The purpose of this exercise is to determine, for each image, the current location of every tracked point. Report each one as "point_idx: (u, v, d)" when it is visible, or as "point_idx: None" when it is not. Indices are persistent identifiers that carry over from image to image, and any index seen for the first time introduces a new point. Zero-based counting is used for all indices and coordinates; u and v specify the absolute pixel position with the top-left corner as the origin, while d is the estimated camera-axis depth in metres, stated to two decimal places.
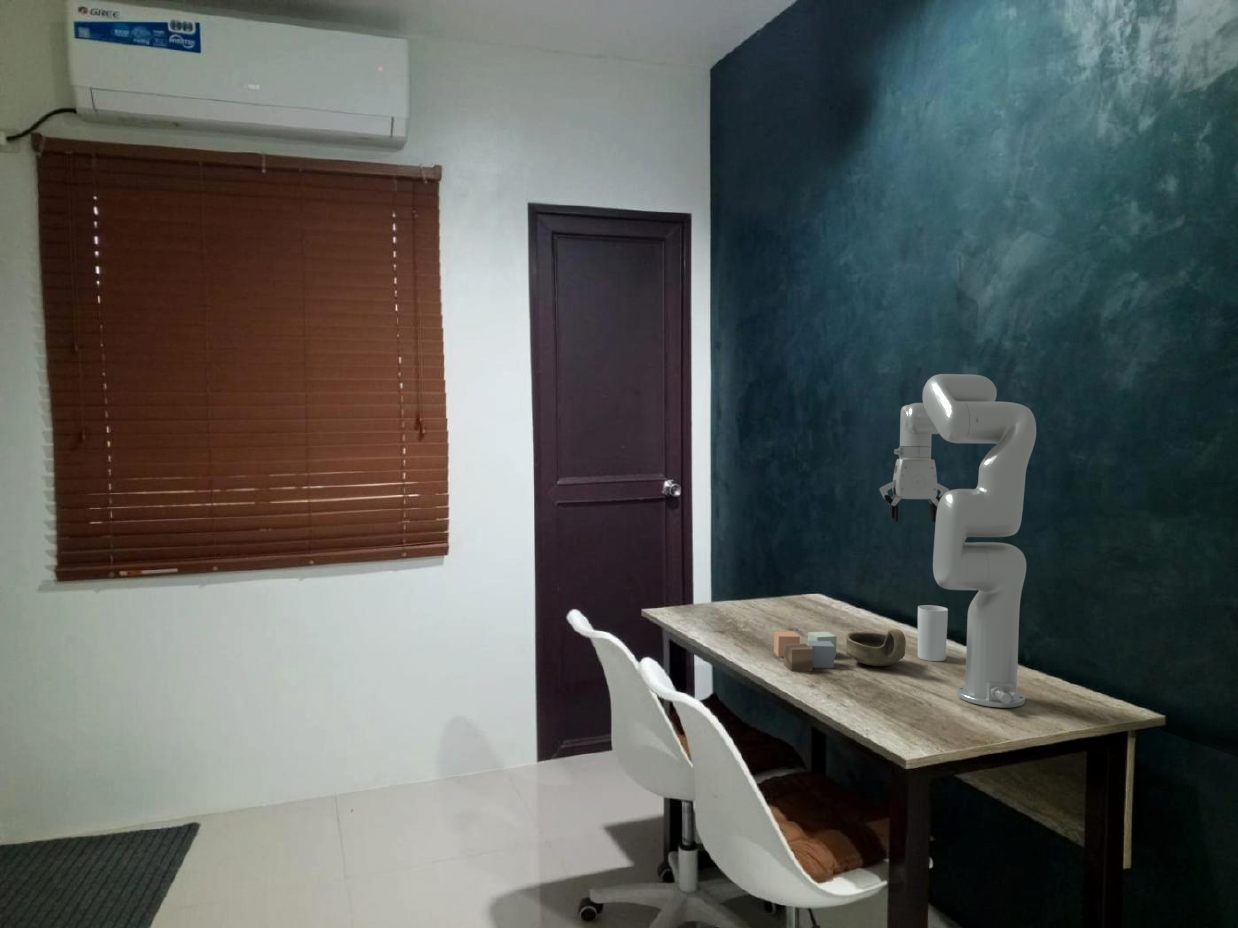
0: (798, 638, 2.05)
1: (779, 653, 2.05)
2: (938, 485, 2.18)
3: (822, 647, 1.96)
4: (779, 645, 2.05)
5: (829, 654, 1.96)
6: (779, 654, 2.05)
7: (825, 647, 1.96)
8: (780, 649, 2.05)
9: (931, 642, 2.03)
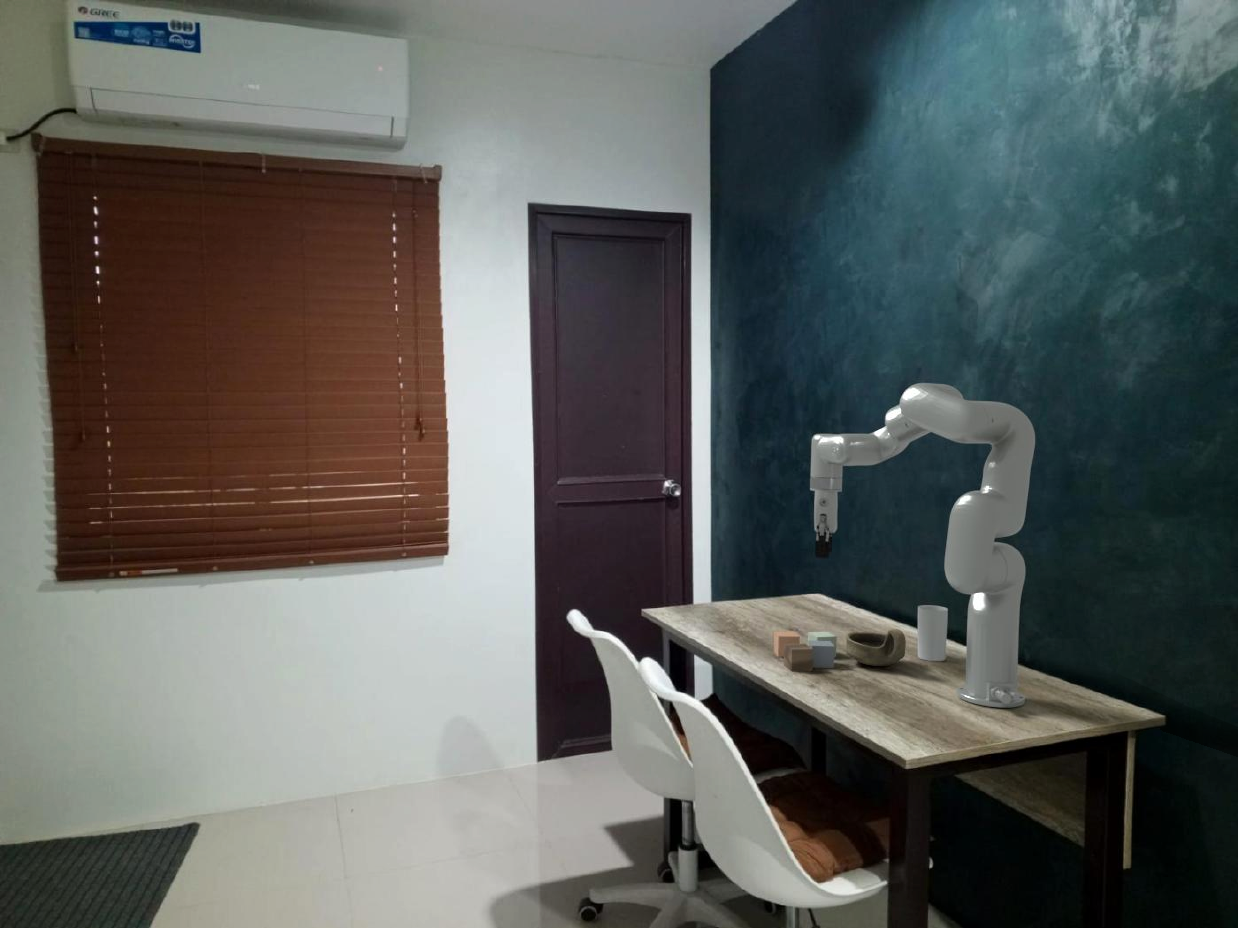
0: (798, 638, 2.05)
1: (779, 653, 2.05)
2: None
3: (822, 647, 1.96)
4: (779, 645, 2.05)
5: (829, 654, 1.96)
6: (779, 654, 2.05)
7: (825, 647, 1.96)
8: (780, 649, 2.05)
9: (931, 642, 2.03)
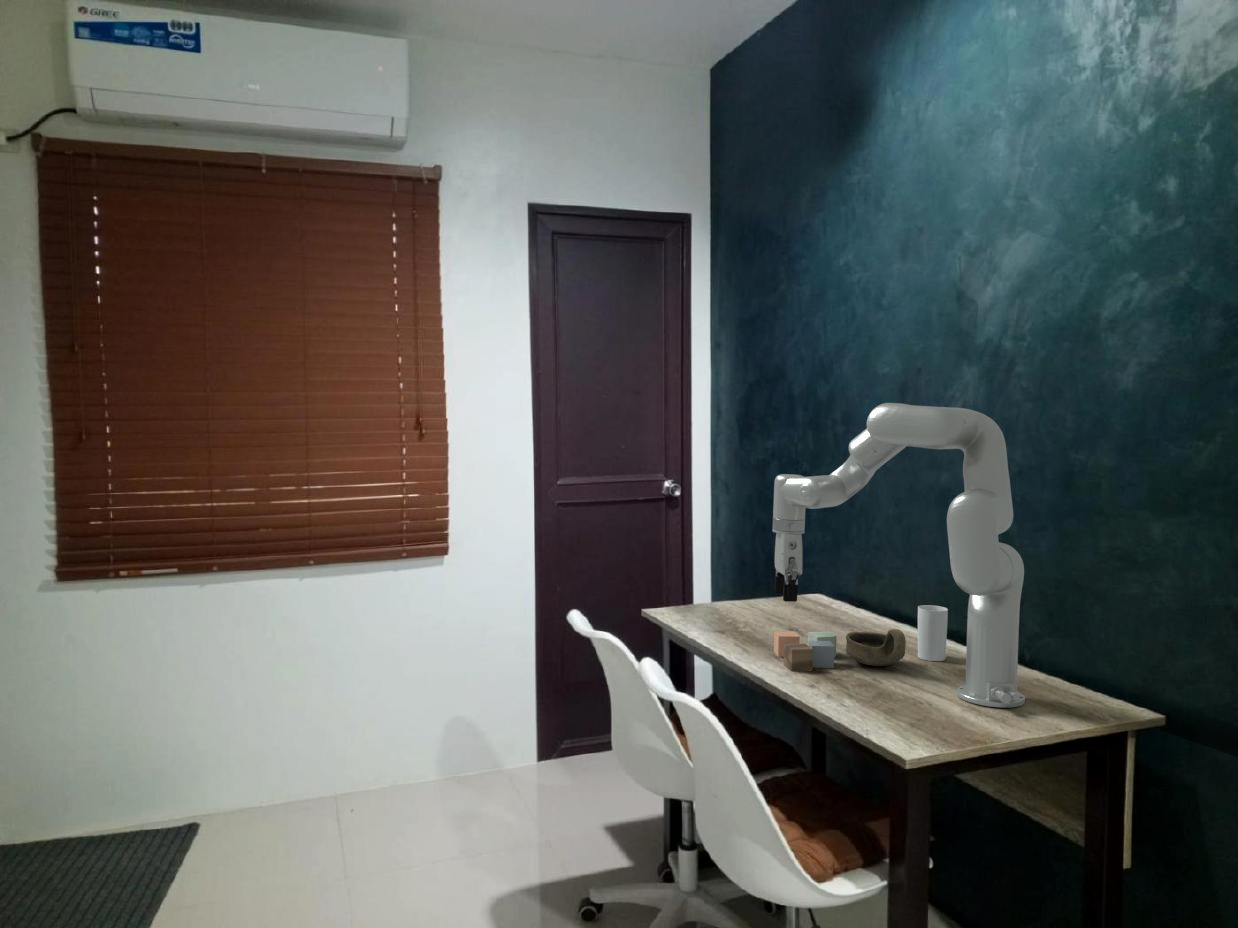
0: (798, 638, 2.05)
1: (779, 653, 2.05)
2: None
3: (822, 647, 1.96)
4: (779, 645, 2.05)
5: (829, 654, 1.96)
6: (779, 654, 2.05)
7: (825, 647, 1.96)
8: (780, 649, 2.05)
9: (931, 642, 2.03)
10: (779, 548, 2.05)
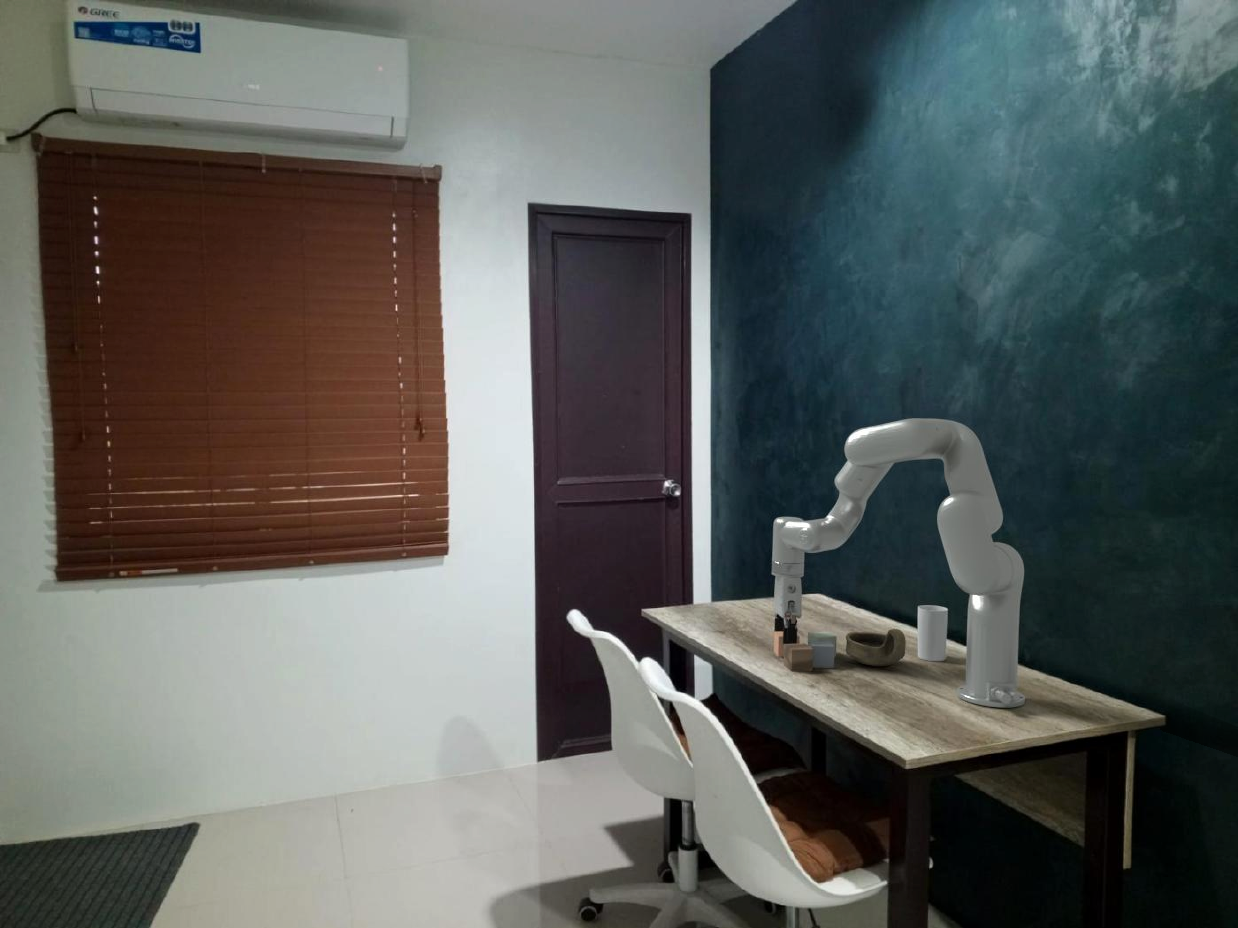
0: (798, 638, 2.05)
1: (779, 653, 2.05)
2: None
3: (822, 647, 1.96)
4: (779, 645, 2.05)
5: (829, 654, 1.96)
6: (779, 654, 2.05)
7: (825, 647, 1.96)
8: (780, 649, 2.05)
9: (931, 642, 2.03)
10: (778, 591, 2.05)
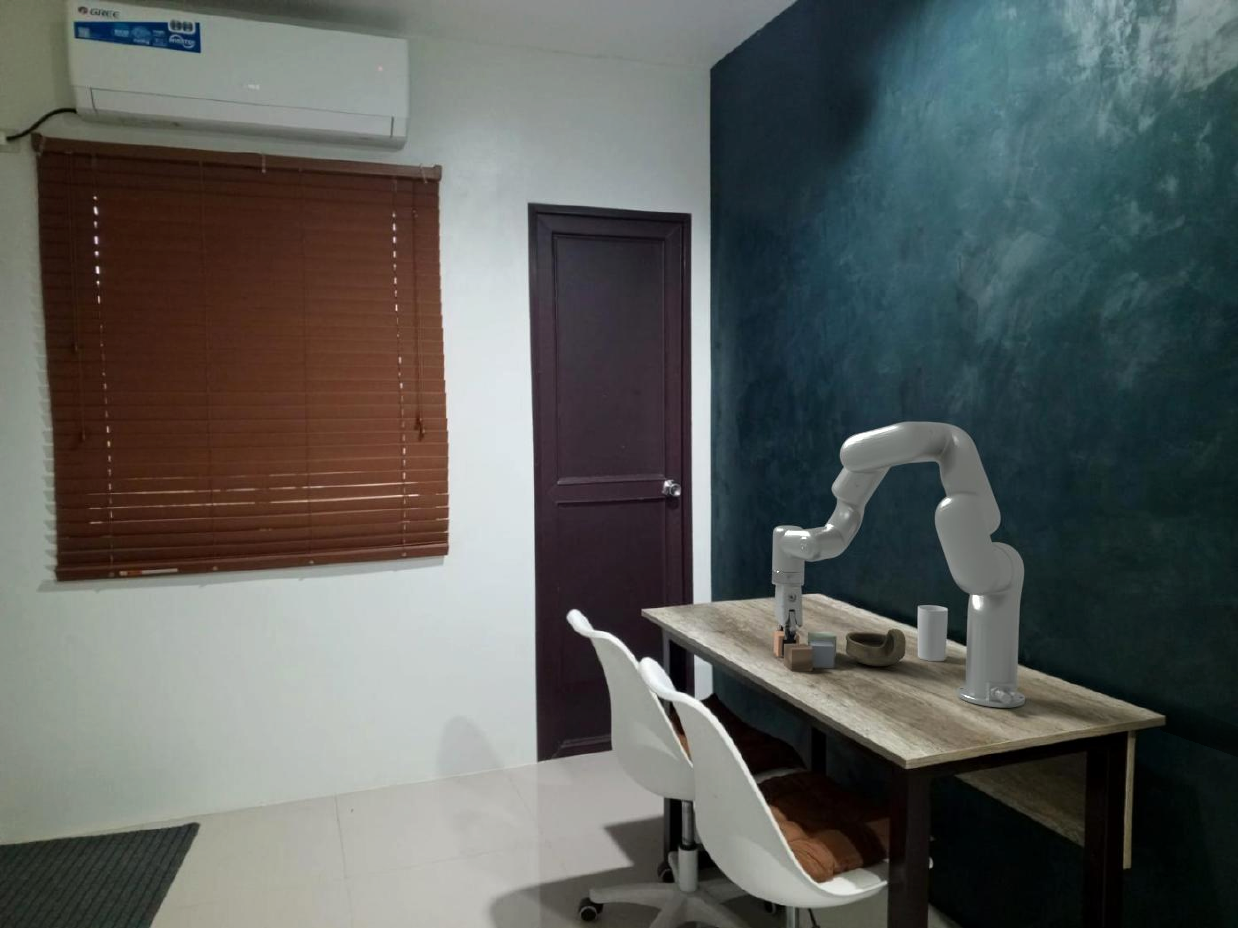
0: (798, 638, 2.05)
1: (779, 653, 2.05)
2: None
3: (822, 647, 1.96)
4: (779, 645, 2.05)
5: (829, 654, 1.96)
6: (779, 654, 2.05)
7: (825, 647, 1.96)
8: (780, 649, 2.05)
9: (931, 642, 2.03)
10: (779, 600, 2.05)
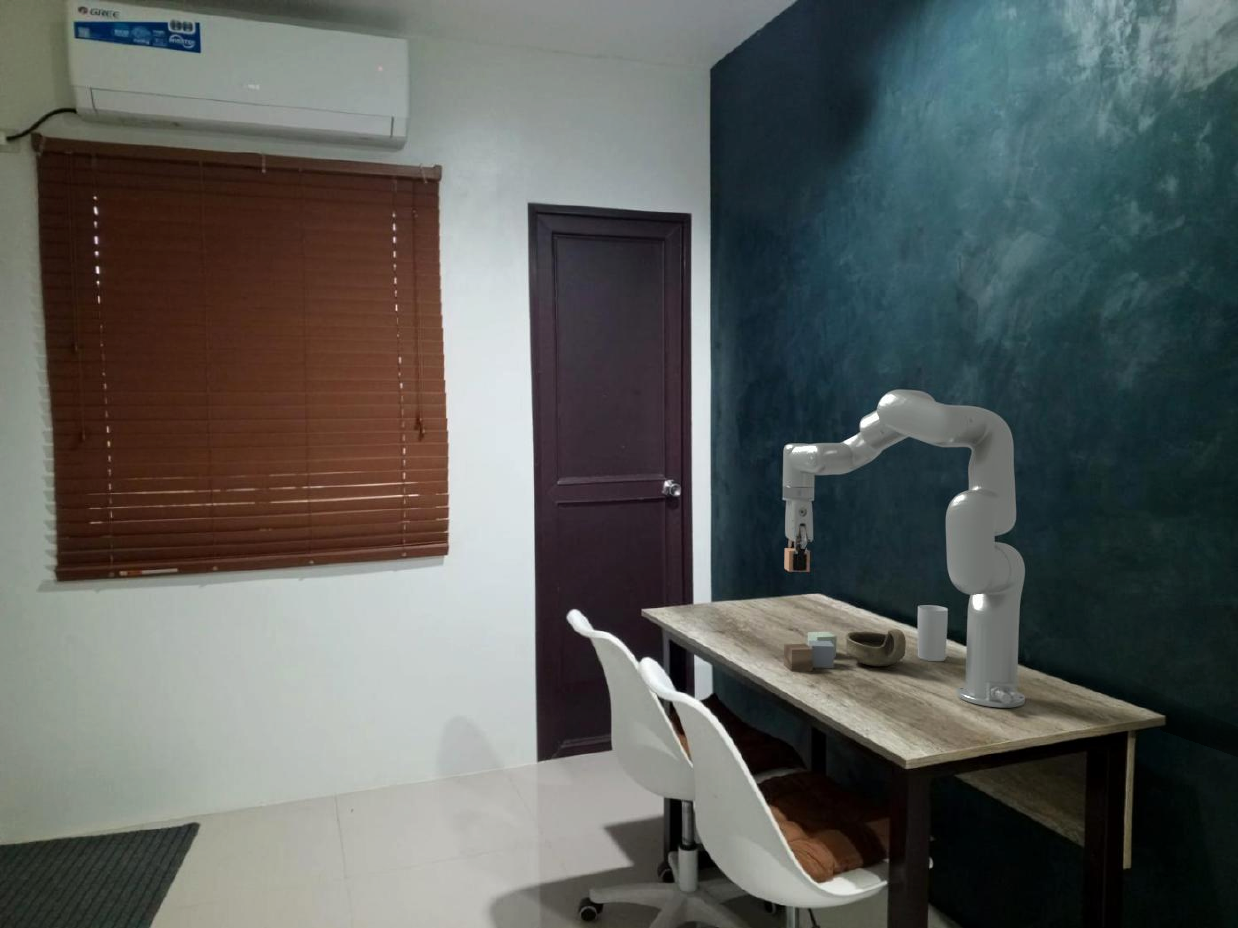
0: (808, 553, 2.08)
1: (790, 568, 2.08)
2: None
3: (822, 647, 1.96)
4: (789, 559, 2.08)
5: (829, 654, 1.96)
6: (790, 568, 2.08)
7: (825, 647, 1.96)
8: (790, 563, 2.08)
9: (931, 642, 2.03)
10: (790, 516, 2.08)
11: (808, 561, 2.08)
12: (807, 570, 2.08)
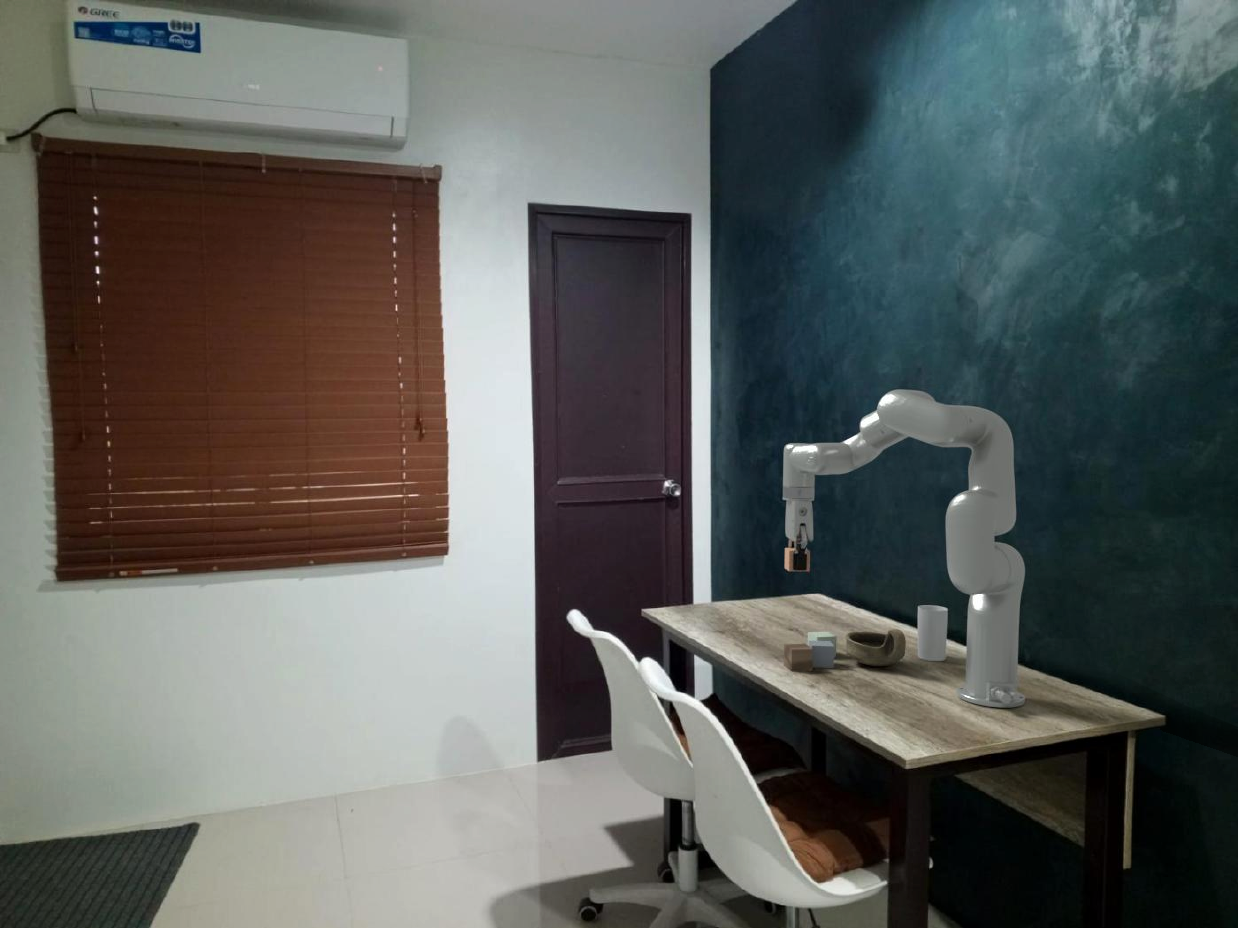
0: (808, 552, 2.08)
1: (790, 567, 2.08)
2: None
3: (822, 647, 1.96)
4: (790, 559, 2.08)
5: (829, 654, 1.96)
6: (790, 568, 2.08)
7: (825, 647, 1.96)
8: (791, 563, 2.08)
9: (931, 642, 2.03)
10: (790, 515, 2.08)
11: (808, 561, 2.08)
12: (807, 570, 2.08)
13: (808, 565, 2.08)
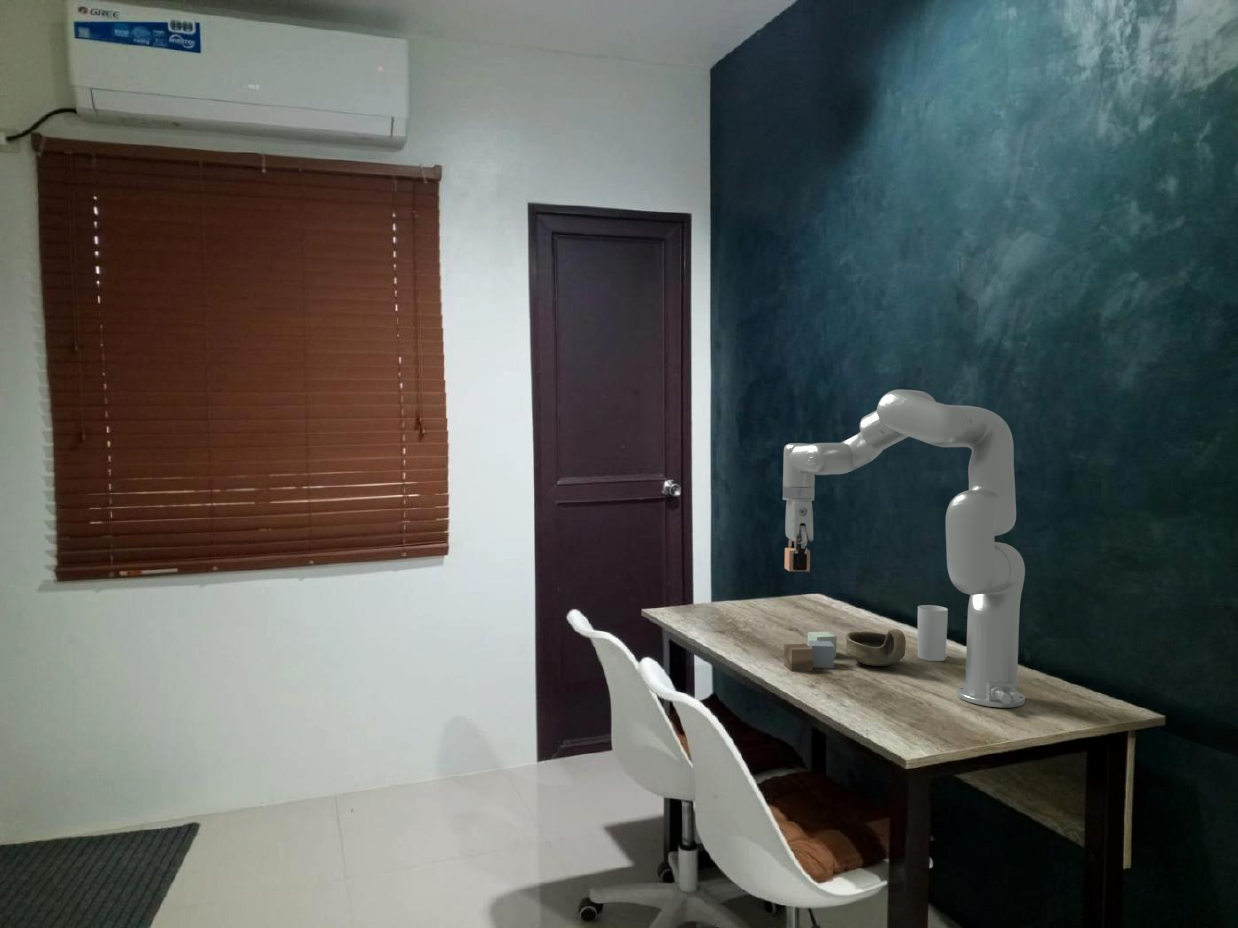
0: (808, 552, 2.08)
1: (790, 567, 2.08)
2: None
3: (822, 647, 1.96)
4: (790, 559, 2.08)
5: (829, 654, 1.96)
6: (790, 568, 2.08)
7: (825, 647, 1.96)
8: (791, 563, 2.08)
9: (931, 642, 2.03)
10: (790, 515, 2.08)
11: (808, 561, 2.08)
12: (807, 570, 2.08)
13: (808, 565, 2.08)
